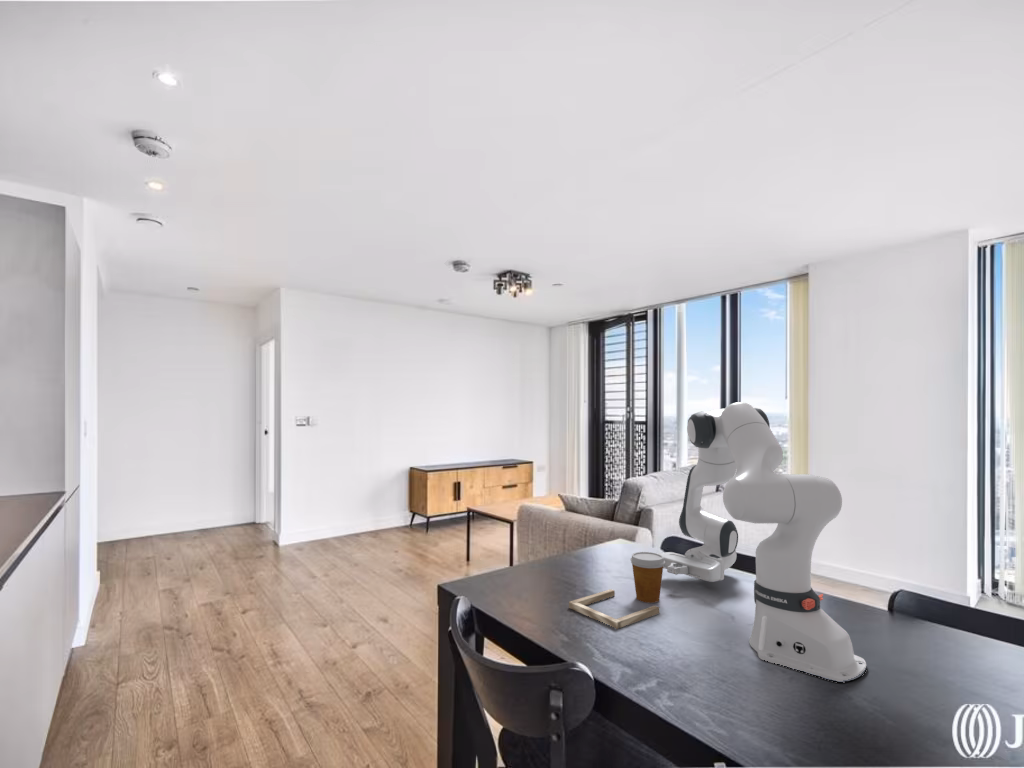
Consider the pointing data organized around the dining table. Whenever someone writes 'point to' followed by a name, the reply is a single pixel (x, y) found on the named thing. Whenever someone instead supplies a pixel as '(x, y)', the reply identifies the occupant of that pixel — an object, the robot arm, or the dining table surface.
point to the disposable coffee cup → (647, 575)
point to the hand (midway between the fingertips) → (671, 570)
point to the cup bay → (616, 623)
